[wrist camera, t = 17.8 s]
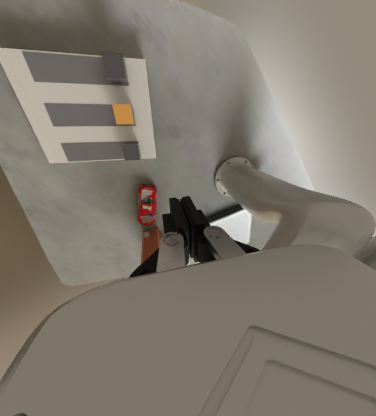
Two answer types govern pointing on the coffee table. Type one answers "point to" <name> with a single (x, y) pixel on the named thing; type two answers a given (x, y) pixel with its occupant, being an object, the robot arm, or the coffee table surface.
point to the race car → (147, 204)
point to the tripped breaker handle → (123, 113)
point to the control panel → (150, 243)
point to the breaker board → (82, 103)
